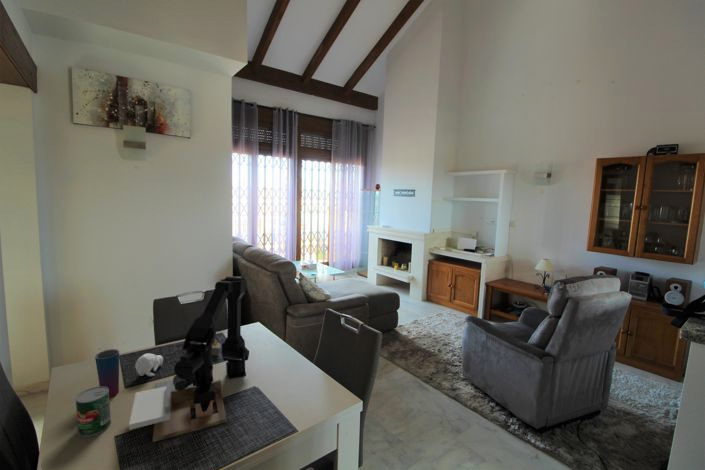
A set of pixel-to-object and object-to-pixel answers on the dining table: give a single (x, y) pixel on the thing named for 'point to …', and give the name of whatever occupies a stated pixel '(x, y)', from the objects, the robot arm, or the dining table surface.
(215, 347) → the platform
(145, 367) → the white animal figurine
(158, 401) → the cover
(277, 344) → the dining table surface
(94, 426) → the canned tomato
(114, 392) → the cup
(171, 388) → the mat
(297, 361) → the dining table surface
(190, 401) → the brown open box
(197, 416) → the block
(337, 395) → the dining table surface
